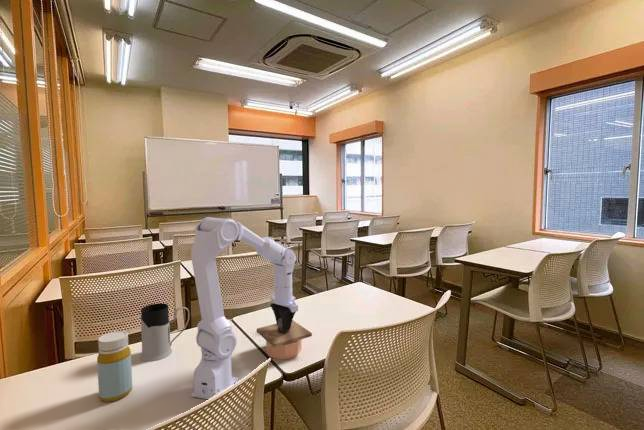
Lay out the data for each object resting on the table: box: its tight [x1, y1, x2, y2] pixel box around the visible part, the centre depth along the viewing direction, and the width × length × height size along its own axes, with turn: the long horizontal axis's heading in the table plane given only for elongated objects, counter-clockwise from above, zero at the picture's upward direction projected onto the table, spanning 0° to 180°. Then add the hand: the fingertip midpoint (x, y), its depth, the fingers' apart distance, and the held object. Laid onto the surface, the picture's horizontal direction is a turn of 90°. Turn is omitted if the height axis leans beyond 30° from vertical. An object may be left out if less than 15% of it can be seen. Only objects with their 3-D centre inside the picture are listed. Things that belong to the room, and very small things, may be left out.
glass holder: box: [140, 302, 190, 362], centre depth 100 cm, size 9×14×15 cm, turn 118°
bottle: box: [96, 330, 133, 403], centre depth 79 cm, size 7×7×15 cm
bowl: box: [265, 339, 302, 360], centre depth 101 cm, size 10×10×4 cm
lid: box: [256, 318, 313, 348], centre depth 101 cm, size 13×13×5 cm
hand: (283, 327), depth 101 cm, fingers closed on lid, 3 cm apart
